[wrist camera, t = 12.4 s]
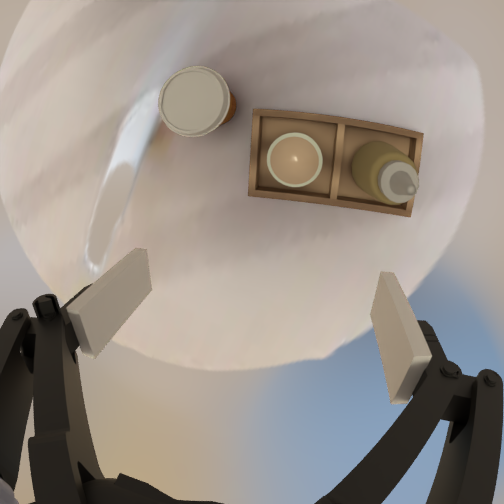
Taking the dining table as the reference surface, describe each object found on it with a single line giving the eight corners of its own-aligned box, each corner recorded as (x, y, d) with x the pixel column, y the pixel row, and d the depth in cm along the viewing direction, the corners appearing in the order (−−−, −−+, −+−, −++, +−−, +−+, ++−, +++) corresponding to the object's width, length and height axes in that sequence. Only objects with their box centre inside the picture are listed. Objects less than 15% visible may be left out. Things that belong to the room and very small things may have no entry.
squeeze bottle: (393, 194, 43) (437, 233, 27) (345, 187, 44) (366, 223, 28) (400, 144, 40) (451, 157, 24) (350, 135, 41) (377, 141, 25)
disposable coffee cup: (212, 67, 41) (183, 51, 30) (258, 100, 42) (243, 90, 31) (178, 113, 45) (142, 112, 34) (222, 146, 46) (196, 152, 35)
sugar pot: (275, 130, 43) (267, 130, 35) (321, 134, 42) (325, 136, 34) (271, 175, 46) (264, 185, 38) (317, 179, 45) (319, 191, 37)
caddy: (257, 110, 43) (253, 108, 39) (414, 132, 40) (423, 133, 36) (252, 190, 48) (248, 196, 45) (403, 210, 45) (410, 217, 41)
